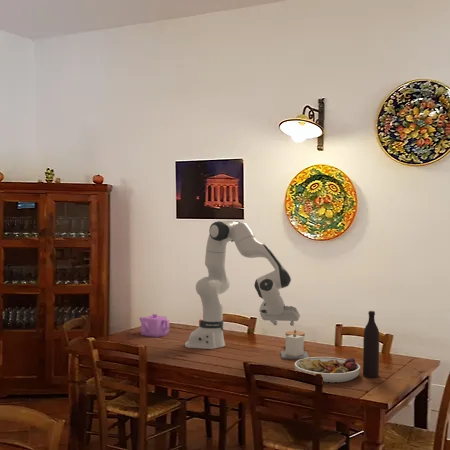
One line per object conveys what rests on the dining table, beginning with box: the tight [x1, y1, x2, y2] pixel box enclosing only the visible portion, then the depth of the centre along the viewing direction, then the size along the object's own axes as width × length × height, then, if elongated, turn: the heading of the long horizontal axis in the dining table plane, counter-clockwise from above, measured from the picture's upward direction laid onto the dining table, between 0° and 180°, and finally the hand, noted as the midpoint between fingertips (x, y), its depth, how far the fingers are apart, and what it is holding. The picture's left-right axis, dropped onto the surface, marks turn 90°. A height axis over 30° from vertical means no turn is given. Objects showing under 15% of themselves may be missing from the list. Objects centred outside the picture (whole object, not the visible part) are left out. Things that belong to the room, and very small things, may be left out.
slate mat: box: [280, 350, 310, 360], centre depth 316 cm, size 14×14×3 cm
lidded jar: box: [285, 329, 306, 339], centre depth 337 cm, size 11×11×9 cm
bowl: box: [294, 356, 361, 384], centre depth 281 cm, size 30×30×8 cm
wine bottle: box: [362, 310, 380, 379], centre depth 279 cm, size 7×7×30 cm
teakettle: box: [139, 313, 170, 338], centre depth 367 cm, size 17×17×12 cm
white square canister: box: [285, 334, 305, 356], centre depth 316 cm, size 7×7×11 cm
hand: (284, 324), depth 313 cm, fingers open, 8 cm apart
